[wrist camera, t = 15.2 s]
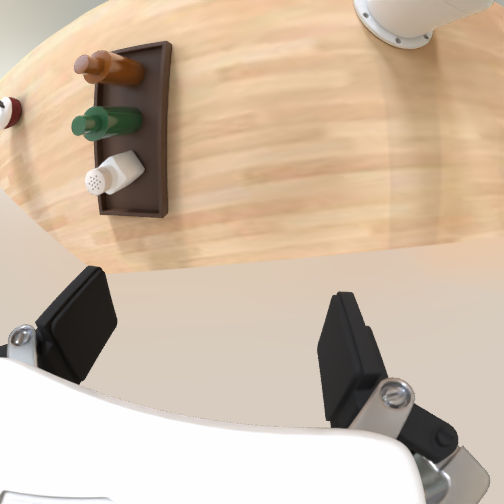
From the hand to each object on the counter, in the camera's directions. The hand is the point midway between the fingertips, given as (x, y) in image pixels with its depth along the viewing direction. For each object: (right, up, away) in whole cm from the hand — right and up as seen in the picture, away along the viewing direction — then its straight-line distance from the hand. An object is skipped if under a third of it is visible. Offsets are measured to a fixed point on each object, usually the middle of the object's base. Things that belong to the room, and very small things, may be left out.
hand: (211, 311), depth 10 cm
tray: (-16, +20, +23) cm, 34 cm away
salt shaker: (-16, +15, +25) cm, 33 cm away
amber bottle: (-15, +27, +19) cm, 36 cm away
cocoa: (-43, +29, +20) cm, 56 cm away
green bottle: (-16, +21, +22) cm, 34 cm away
